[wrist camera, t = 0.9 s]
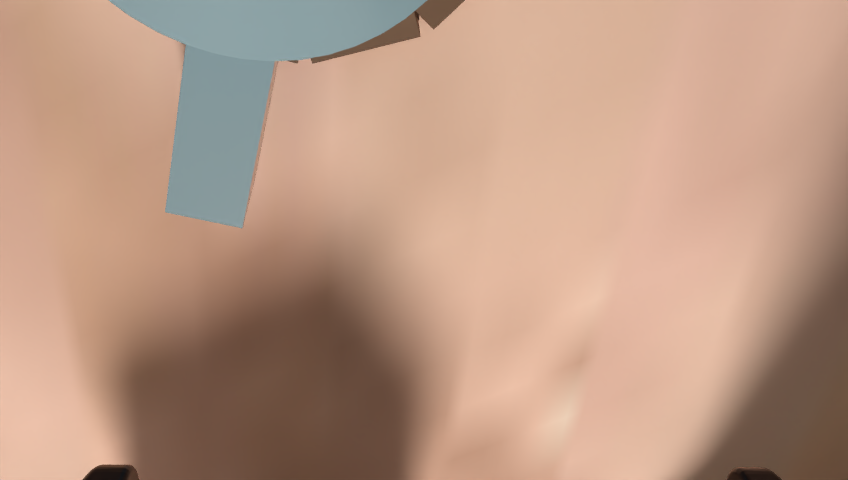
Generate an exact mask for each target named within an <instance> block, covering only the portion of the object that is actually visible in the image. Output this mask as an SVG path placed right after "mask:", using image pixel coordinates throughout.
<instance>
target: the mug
mask: <svg viewBox="0 0 848 480" xmlns="http://www.w3.org/2000/svg"><path fill="white" fill-rule="evenodd" d="M109 1H110V2H111V3H113V4H114V5H116V6H117V7H118V8H120V9H121V10H122V11H124V12H125V13H126V14H128V15H129V16H131V17H132V18H134V19H136V20H138V21H139V22H141V23H143V24H145V25H146V26H148V27H150V28H151V29H153V30H155V31H157V32H158V33H161V34H163V35H165V36H168V37H170V38H172V39H174V40H177V41H179V42H181V43H183V44H186V48H185V56H184V64H183V72H182V80H181V88H180V96H179V105H178V113H177V121H176V129H175V137H174V145H173V153H172V161H171V169H170V177H169V185H168V194H167V202H166V210H165V212H167V213H172V214H176V215H181V216H186V217H191V218H196V219H200V220H205V221H210V222H215V223H220V224H224V225H229V226H234V227H239V228H243V224H244V220H245V216H246V212H247V208H248V204H249V200H250V197H251V193H252V189H253V185H254V181H255V176H256V171H257V166H258V161H259V156H260V151H261V146H262V141H263V136H264V131H265V126H266V121H267V116H268V111H269V105H270V100H271V95H272V90H273V85H274V80H275V75H276V70H277V65H278V61H289V60H303V59H308V58H314V57H319V56H325V55H330V54H333V53H336V52H339V51H342V50H345V49H349V48H352V47H355V46H357V45H359V44H361V43H364V42H366V41H368V40H370V39H372V38H374V37H376V36H378V35H381V34H382V33H384V32H385V31H387V30H389V29H390V28H392V27H393V26H395V25H396V24H398V23H400V22H401V21H403V20H404V19H406V18H407V17H408V16H409V15H410V14H412V13H413V12H414V11H415V10H416V9H418V8H419V7H420V6H421V5H422V4H424V3H425V2H426V1H427V0H109Z"/></svg>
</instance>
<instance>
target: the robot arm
mask: <svg viewBox="0 0 848 480" xmlns="http://www.w3.org/2000/svg"><path fill="white" fill-rule="evenodd" d="M83 480H139V478H138V474H137V471H136V469H135V468H134V467H133V466H132V465H99V466H97V467H95V468H94V469H92V470H91V471H90V472H89V473H88V474H87V475H86V476H85V478H84V479H83ZM726 480H782V479H781V478H780V477H778V476H777V475H776V474H775V473H774V472H772V471H771V470H769V469H767V468H762V467H737V468H734V469H733V470H732V471H730V473H729V475H728V477H727V479H726Z"/></svg>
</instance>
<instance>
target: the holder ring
mask: <svg viewBox="0 0 848 480" xmlns="http://www.w3.org/2000/svg"><path fill="white" fill-rule="evenodd" d="M464 1H465V0H427V1H426V2H425V3H424V4H422V5H421V6H420V7H419V8H418V9H416V10H415V11H414V12H413V13H412V14H410V15H409V16H408V17H407V18H406V19H404V20H403V21H401V22H400V23H398V24H396V25H395V26H393V27H392V28H390V29H389V30H387V31H385V32H384V33H382V34H381V35H378V36H376V37H374V38H372V39H370V40H368V41H366V42H364V43H361V44H359V45H357V46H355V47H352V48H349V49H345V50H342V51H339V52H336V53H333V54H330V55H325V56H319V57H314V58H311V61H312V64H313V63H317V62H321V61H325V60H329V59H333V58H337V57H341V56H345V55H349V54H353V53H357V52H361V51H365V50H369V49H373V48H377V47H381V46H385V45H389V44H393V43H397V42H401V41H405V40H409V39H413V38H417V37H420V30H419V23H418V19H417V15H416V12H417V13H418V14H419V15H420V16H421V17H422V18H423V19H424V20H425V21H426V22H427V23H428V24H429V25H430V26H431V27H432V28H433V29H435V28H436V27H437V26H438V25H439V24H440V23H441V22H442V21H443V20H444V19H445V18H446V17H448V16H449V15H450V14H451V13H452V12H453V11H454V10H455V9H456V8H457V7H458V6H459V5H460V4H461V3H462V2H464ZM289 61H290V62H294V63H298V60H289Z"/></svg>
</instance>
